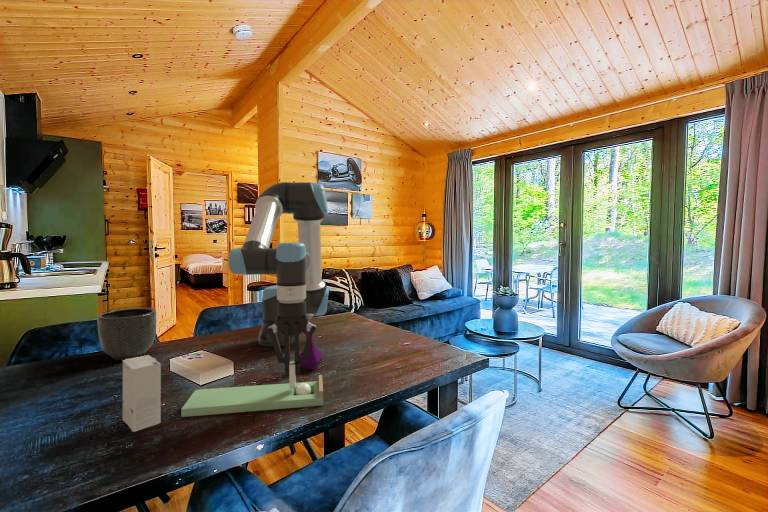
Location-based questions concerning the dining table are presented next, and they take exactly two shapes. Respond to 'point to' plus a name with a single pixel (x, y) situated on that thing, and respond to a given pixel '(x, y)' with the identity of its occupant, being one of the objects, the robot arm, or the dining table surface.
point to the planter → (127, 332)
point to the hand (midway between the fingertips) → (292, 386)
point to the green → (251, 399)
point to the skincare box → (141, 392)
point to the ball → (303, 389)
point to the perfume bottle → (311, 352)
